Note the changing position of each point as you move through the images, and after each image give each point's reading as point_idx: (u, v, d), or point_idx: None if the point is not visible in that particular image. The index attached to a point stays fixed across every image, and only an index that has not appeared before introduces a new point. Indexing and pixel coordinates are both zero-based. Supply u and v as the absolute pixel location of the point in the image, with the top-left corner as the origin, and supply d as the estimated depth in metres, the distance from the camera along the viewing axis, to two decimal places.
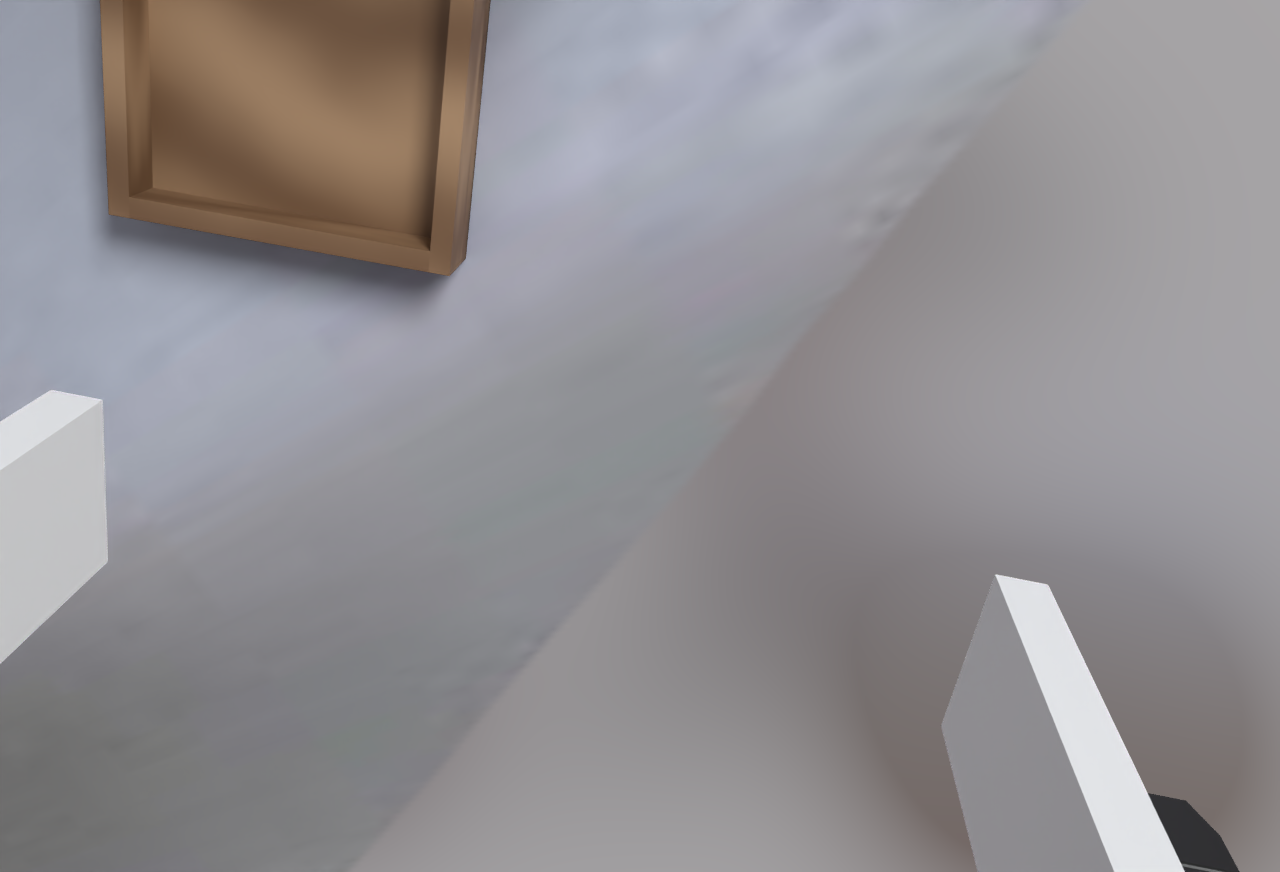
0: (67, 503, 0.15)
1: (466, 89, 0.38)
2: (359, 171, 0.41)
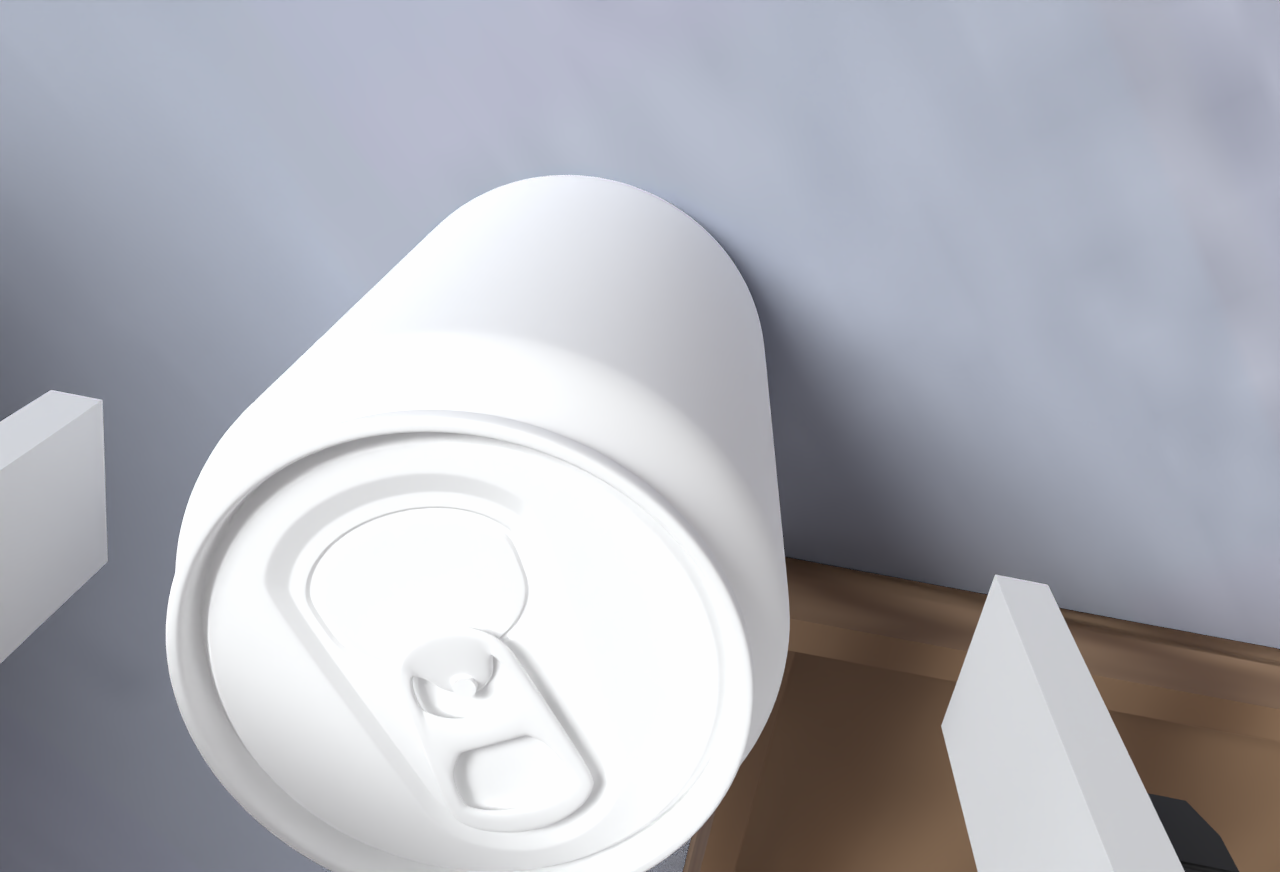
0: (67, 503, 0.15)
1: None
2: None
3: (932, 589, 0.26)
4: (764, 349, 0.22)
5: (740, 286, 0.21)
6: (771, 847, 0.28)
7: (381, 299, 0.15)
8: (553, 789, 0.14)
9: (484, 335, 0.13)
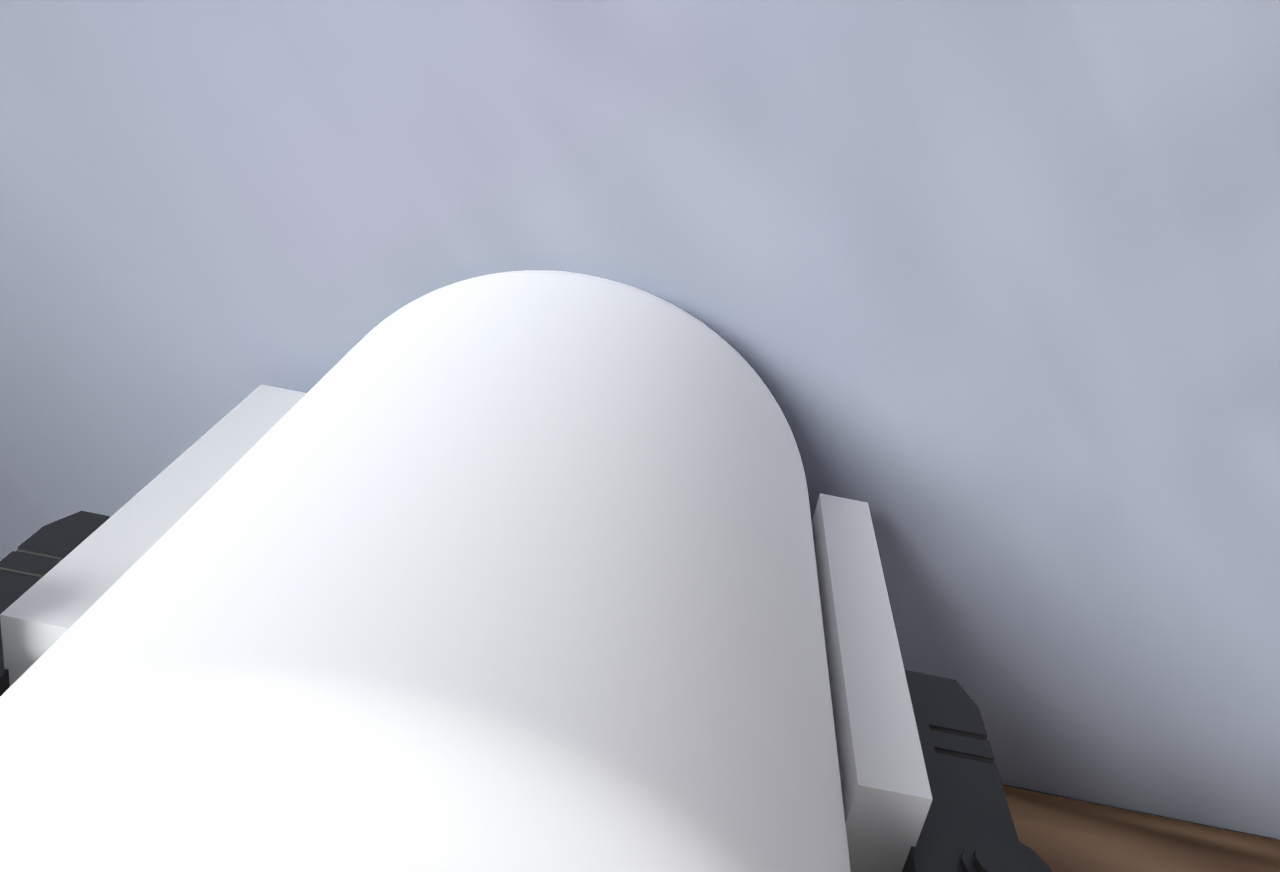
0: None
1: None
2: None
3: (1022, 796, 0.19)
4: None
5: (778, 429, 0.15)
6: None
7: (204, 533, 0.09)
8: None
9: (320, 686, 0.07)
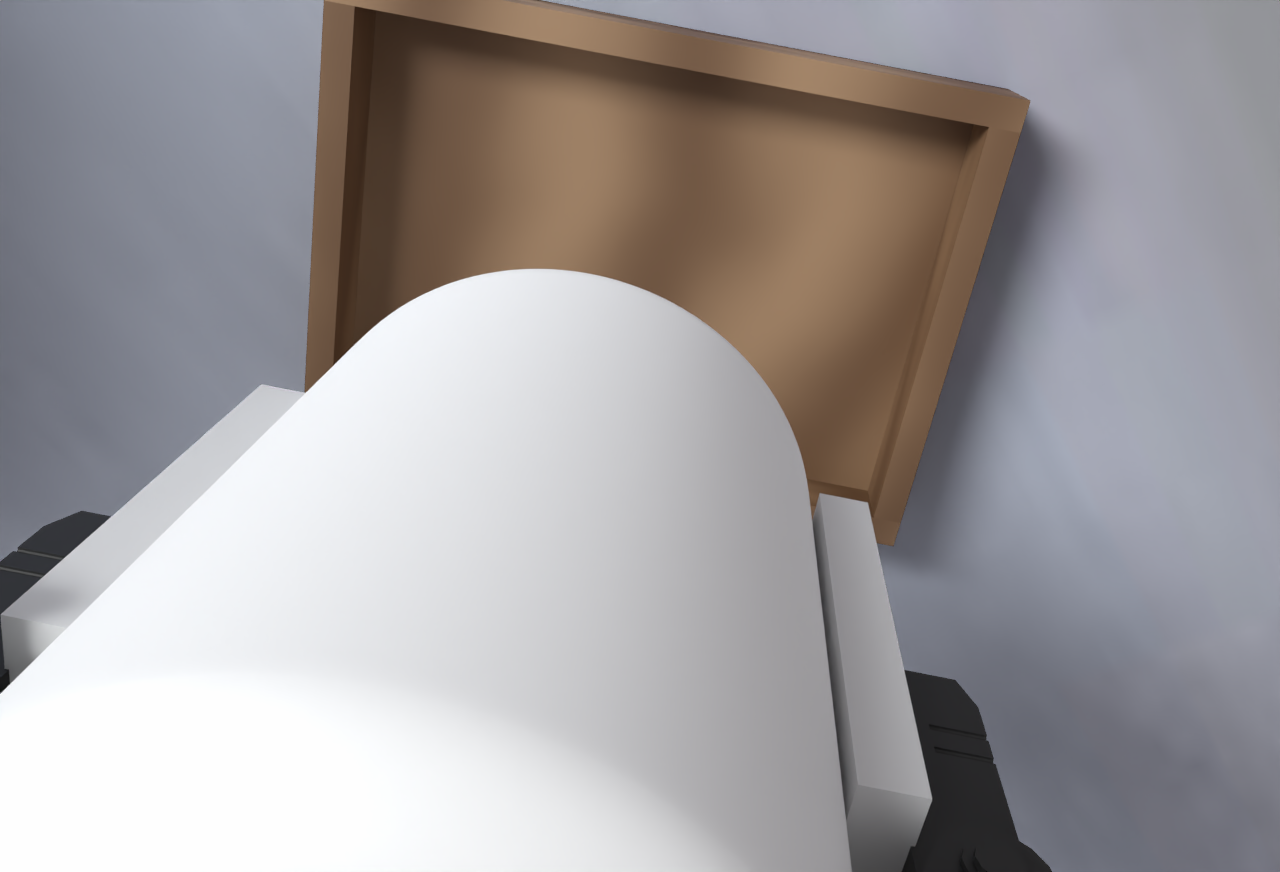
0: None
1: (765, 50, 0.28)
2: (868, 225, 0.31)
3: None
4: (810, 507, 0.16)
5: (779, 428, 0.15)
6: (396, 268, 0.33)
7: (203, 532, 0.09)
8: None
9: (321, 685, 0.07)
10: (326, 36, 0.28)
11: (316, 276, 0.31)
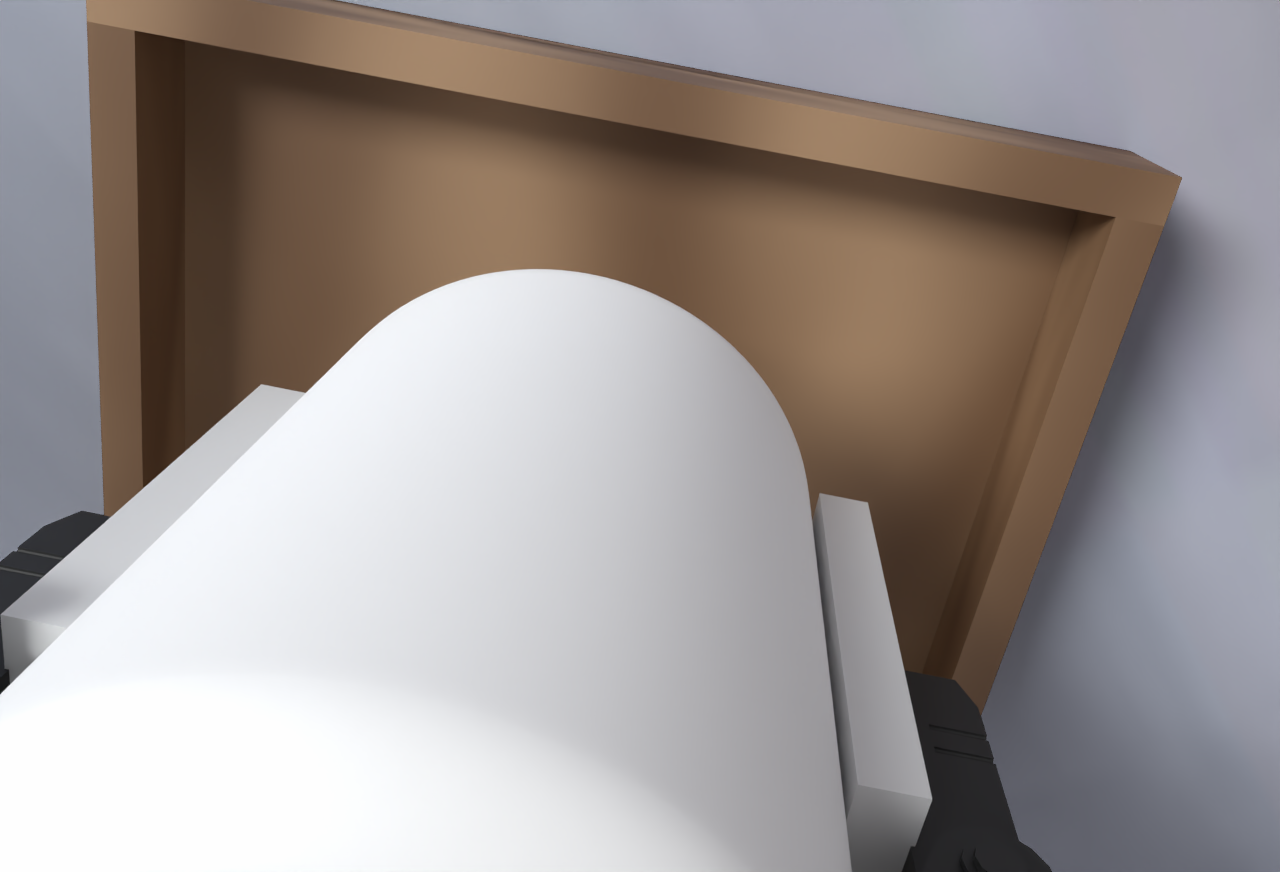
0: None
1: (769, 99, 0.18)
2: (920, 348, 0.21)
3: (372, 8, 0.20)
4: (810, 508, 0.16)
5: (779, 428, 0.15)
6: (239, 401, 0.23)
7: (203, 532, 0.09)
8: None
9: (319, 685, 0.07)
10: (94, 76, 0.18)
11: (110, 423, 0.21)
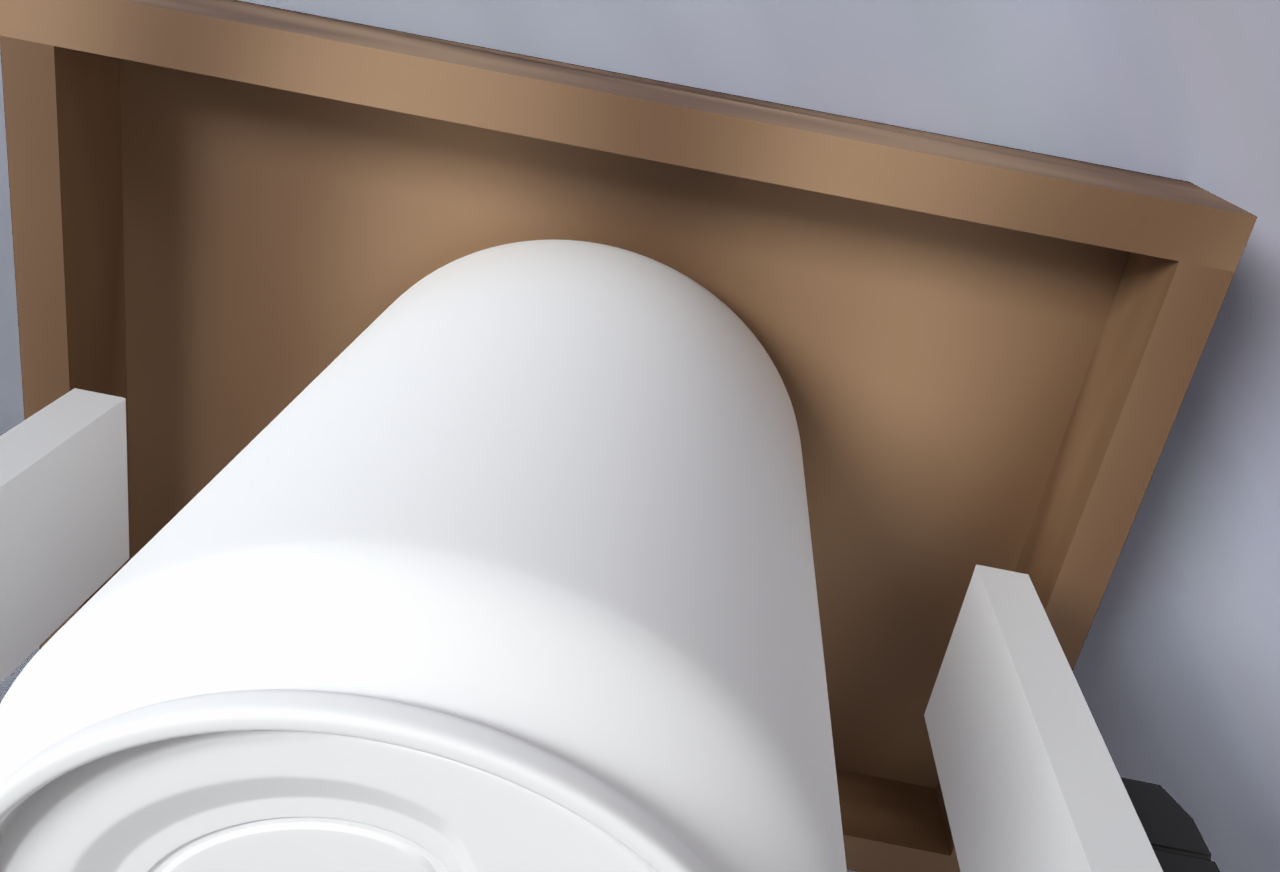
0: (91, 500, 0.15)
1: (780, 125, 0.15)
2: (949, 402, 0.19)
3: (331, 19, 0.18)
4: (802, 458, 0.18)
5: (773, 383, 0.17)
6: (188, 455, 0.20)
7: (275, 449, 0.11)
8: None
9: (392, 550, 0.08)
10: (10, 97, 0.16)
11: None
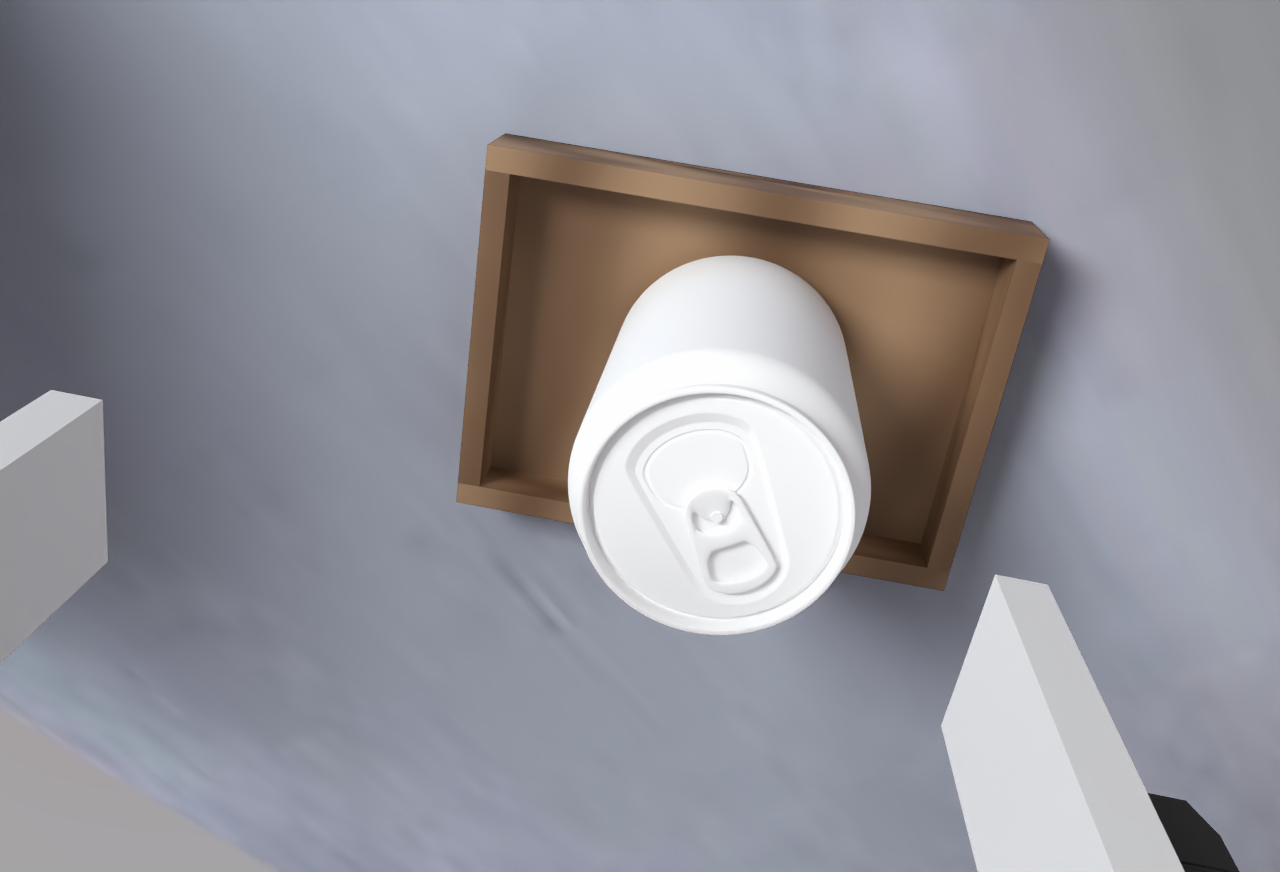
0: (67, 503, 0.15)
1: (836, 203, 0.35)
2: (919, 331, 0.38)
3: (619, 153, 0.37)
4: None
5: (833, 320, 0.36)
6: (532, 368, 0.40)
7: (660, 333, 0.30)
8: (755, 572, 0.29)
9: (728, 350, 0.28)
10: (486, 196, 0.36)
11: (471, 380, 0.38)
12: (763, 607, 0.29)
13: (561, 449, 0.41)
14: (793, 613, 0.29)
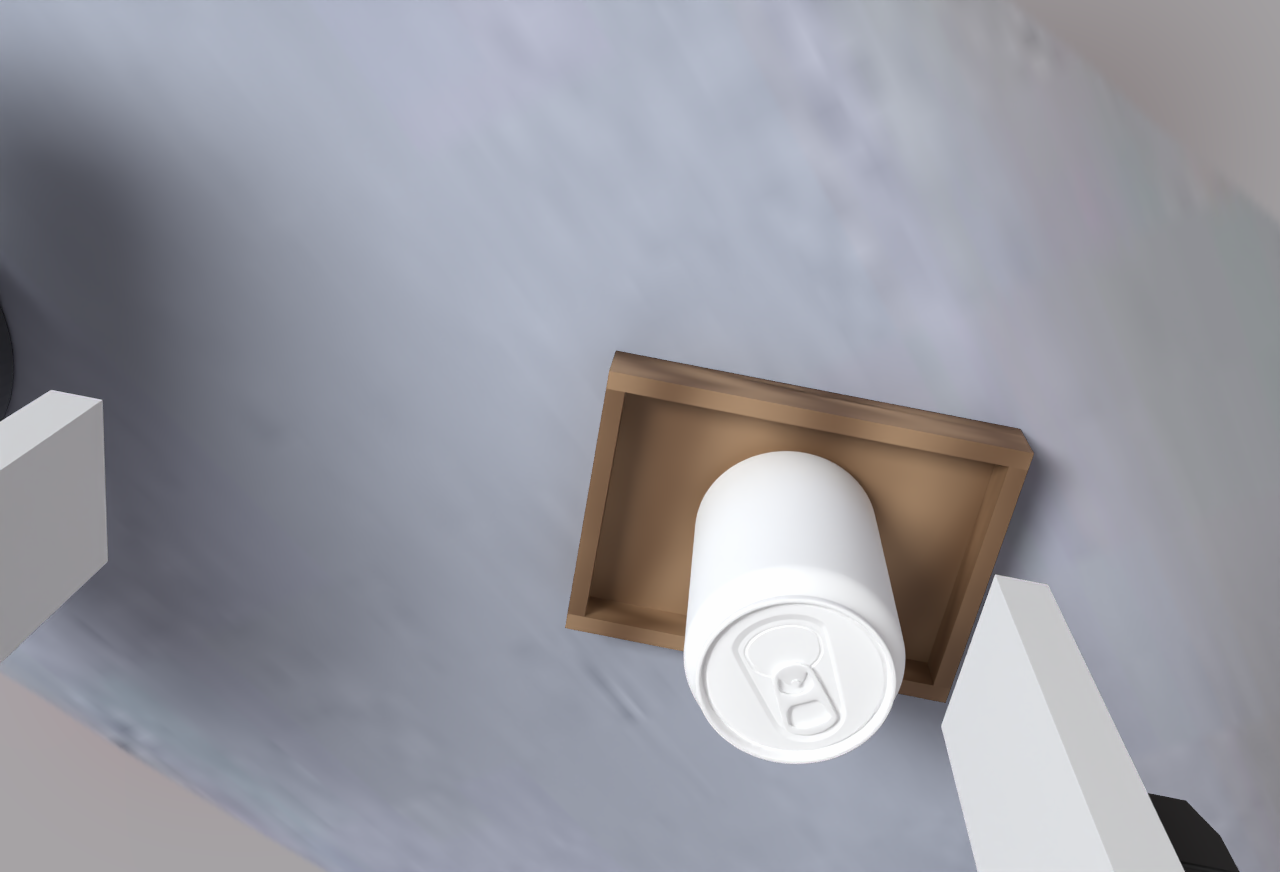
0: (67, 503, 0.15)
1: (874, 421, 0.46)
2: (932, 507, 0.49)
3: (705, 369, 0.48)
4: None
5: (868, 504, 0.47)
6: (627, 525, 0.51)
7: (751, 539, 0.41)
8: (820, 720, 0.40)
9: (807, 567, 0.39)
10: (605, 407, 0.47)
11: (584, 538, 0.49)
12: (825, 744, 0.40)
13: (646, 585, 0.52)
14: (848, 750, 0.40)
